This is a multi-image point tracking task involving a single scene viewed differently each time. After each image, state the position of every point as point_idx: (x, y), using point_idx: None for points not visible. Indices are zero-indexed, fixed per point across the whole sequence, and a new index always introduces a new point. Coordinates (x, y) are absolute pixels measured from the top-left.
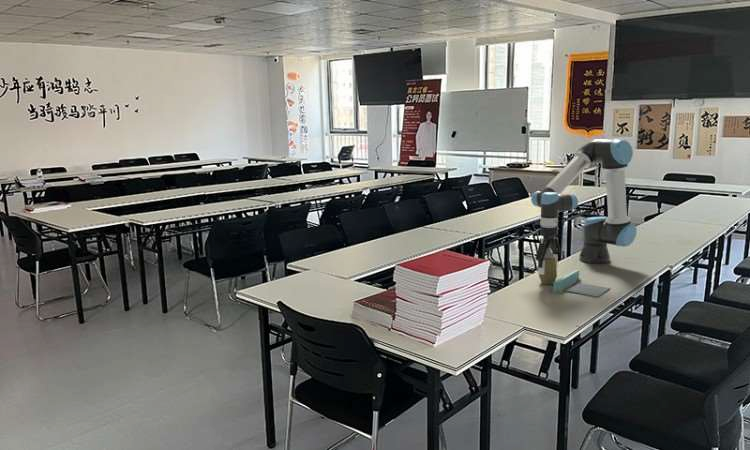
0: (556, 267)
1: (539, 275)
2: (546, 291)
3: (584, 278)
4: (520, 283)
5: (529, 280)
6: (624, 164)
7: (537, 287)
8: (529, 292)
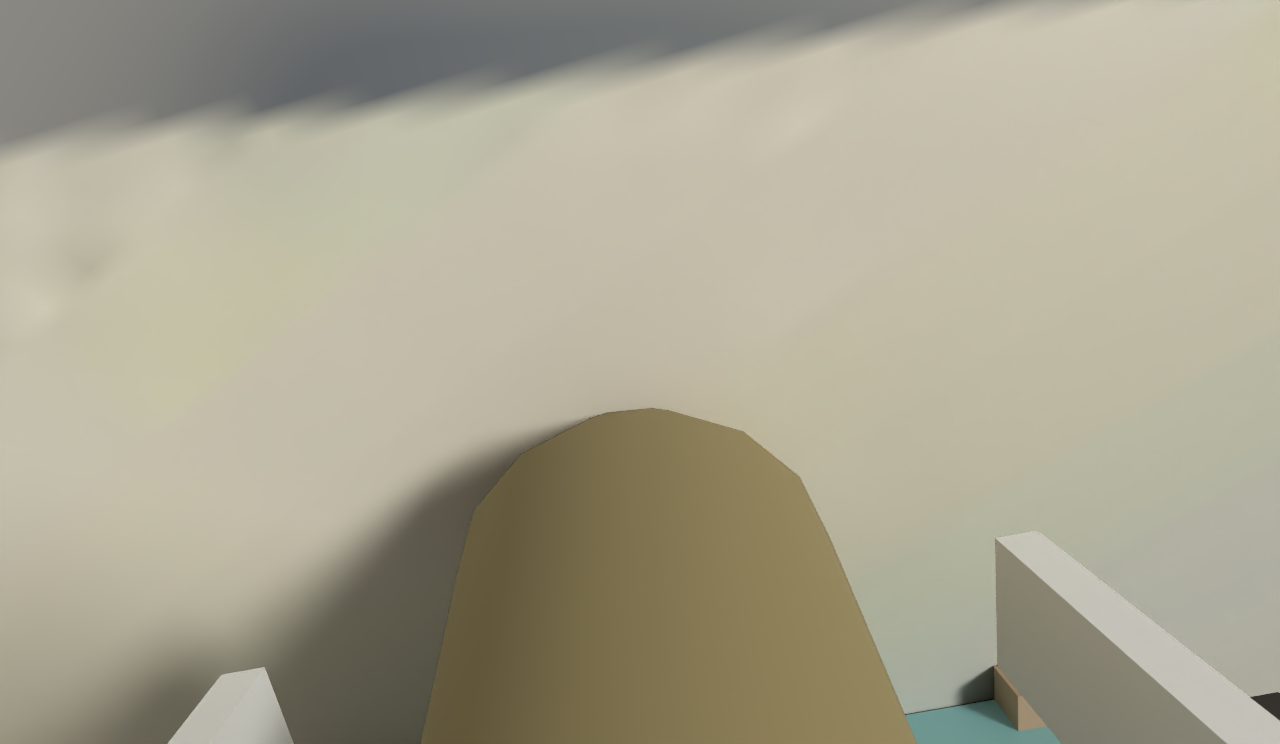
0: (1006, 675)
1: (497, 487)
2: None
3: None
4: (244, 167)
5: (541, 173)
6: None
7: (317, 529)
8: (5, 596)
